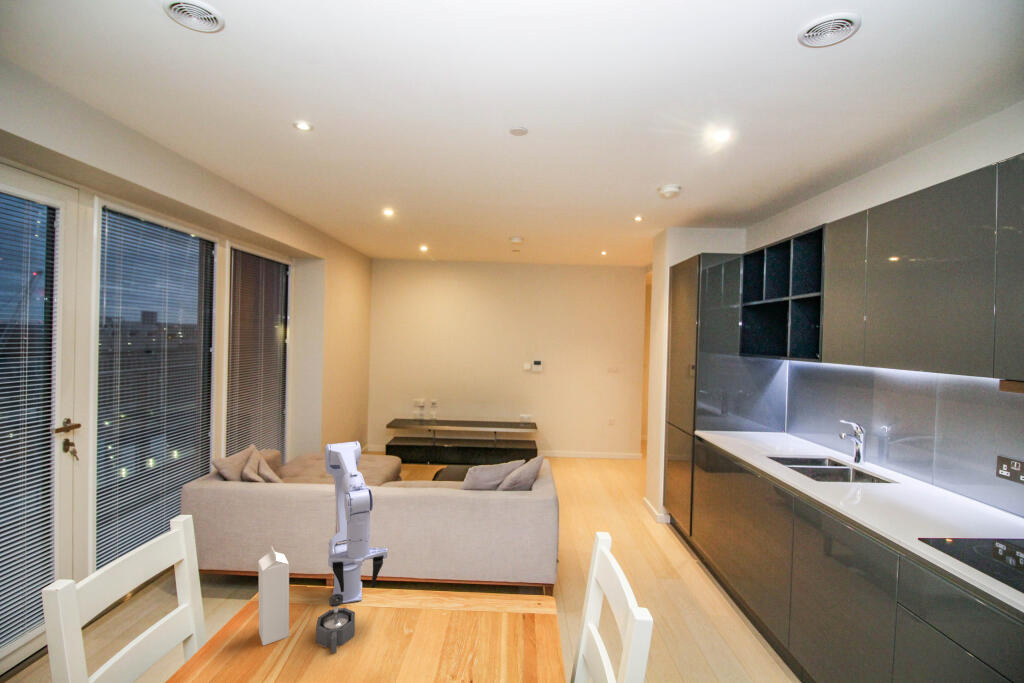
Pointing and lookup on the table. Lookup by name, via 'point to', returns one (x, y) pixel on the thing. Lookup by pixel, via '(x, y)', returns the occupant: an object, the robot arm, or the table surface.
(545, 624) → the table surface
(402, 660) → the table surface
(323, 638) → the grey jug
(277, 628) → the milk
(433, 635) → the table surface
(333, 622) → the plunger
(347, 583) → the robot arm
